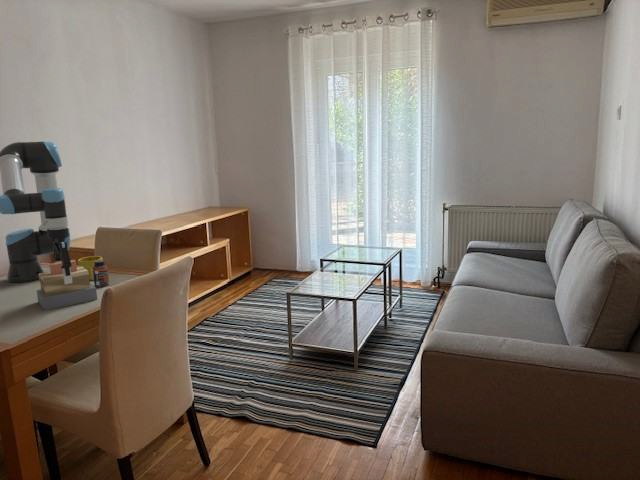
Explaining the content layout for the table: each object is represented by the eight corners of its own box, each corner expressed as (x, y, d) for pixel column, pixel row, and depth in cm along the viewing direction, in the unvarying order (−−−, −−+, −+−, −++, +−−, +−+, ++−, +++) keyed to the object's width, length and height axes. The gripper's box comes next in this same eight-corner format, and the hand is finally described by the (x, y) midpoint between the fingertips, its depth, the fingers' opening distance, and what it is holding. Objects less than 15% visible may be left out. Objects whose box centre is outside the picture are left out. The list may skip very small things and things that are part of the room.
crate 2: (64, 270, 192) (62, 261, 191) (74, 269, 194) (73, 259, 193) (66, 272, 189) (64, 263, 188) (77, 270, 191) (75, 261, 190)
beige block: (41, 290, 190) (38, 273, 189) (84, 282, 200) (82, 266, 199) (45, 296, 183) (43, 278, 181) (90, 287, 192) (88, 270, 191)
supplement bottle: (99, 288, 208) (96, 263, 206) (91, 286, 211) (88, 261, 209) (112, 284, 213) (109, 260, 211) (104, 283, 216) (101, 259, 214)
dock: (38, 301, 192) (36, 290, 191) (88, 291, 204) (87, 280, 203) (44, 310, 181) (42, 298, 180) (97, 299, 193) (95, 287, 192)
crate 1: (50, 273, 189) (49, 263, 188) (61, 271, 191) (60, 261, 190) (52, 275, 186) (51, 265, 185) (63, 273, 188) (62, 263, 187)
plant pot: (95, 282, 219) (92, 261, 217) (75, 281, 221) (72, 261, 219) (109, 275, 229) (106, 256, 227) (90, 275, 231) (87, 255, 229)
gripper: (41, 225, 194) (48, 275, 198) (53, 233, 175) (61, 288, 179) (61, 223, 198) (68, 271, 203) (75, 230, 179) (82, 284, 184)
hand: (64, 279), depth 191 cm, fingers open, 13 cm apart
